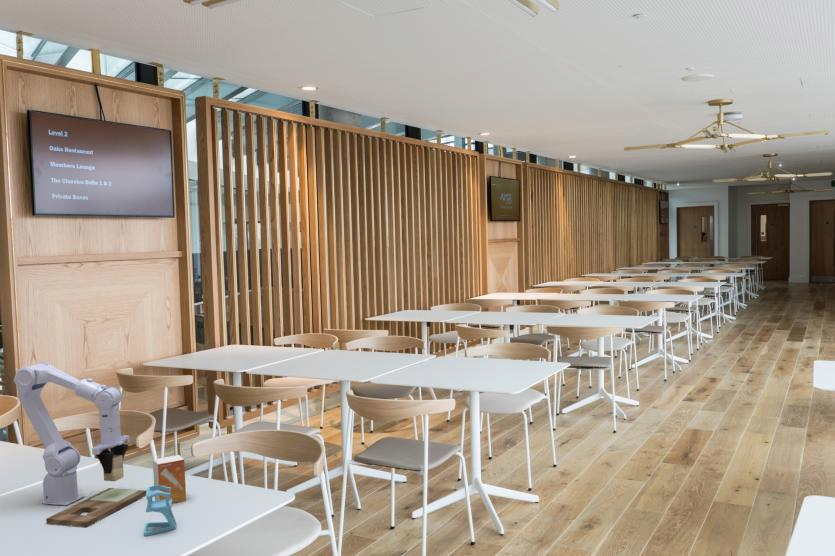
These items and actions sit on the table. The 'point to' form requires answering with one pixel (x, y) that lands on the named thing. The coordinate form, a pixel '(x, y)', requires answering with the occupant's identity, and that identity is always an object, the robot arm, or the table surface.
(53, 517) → the walnut pocket board
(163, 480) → the small box
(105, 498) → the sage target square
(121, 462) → the maple block
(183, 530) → the table surface
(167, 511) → the chair
